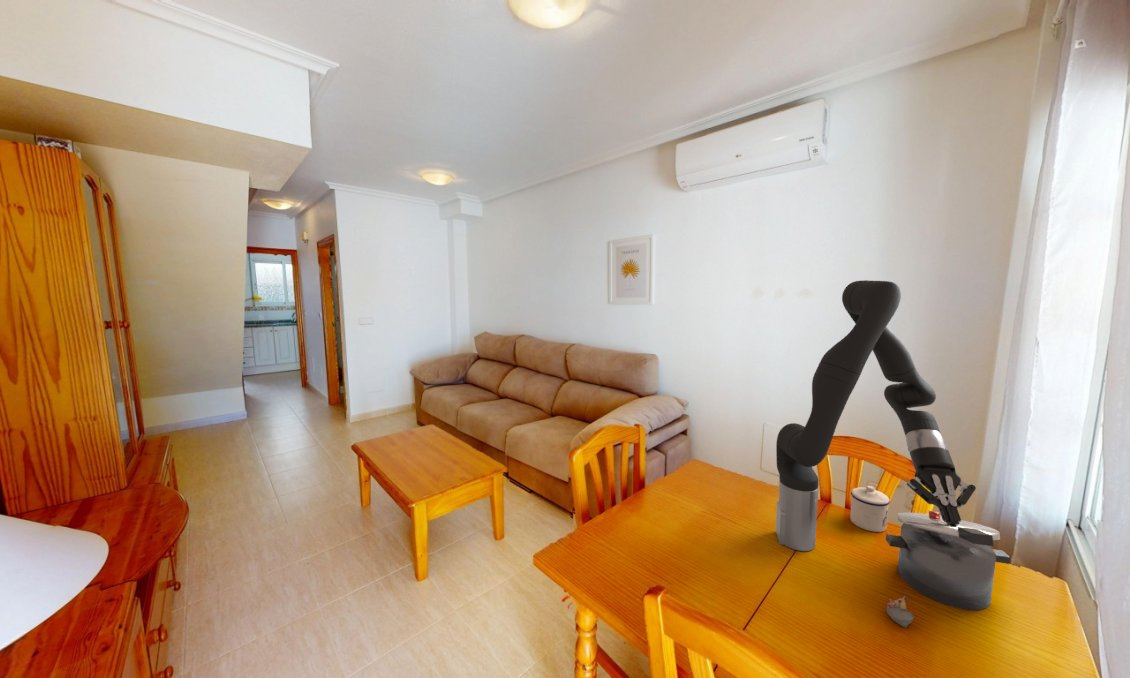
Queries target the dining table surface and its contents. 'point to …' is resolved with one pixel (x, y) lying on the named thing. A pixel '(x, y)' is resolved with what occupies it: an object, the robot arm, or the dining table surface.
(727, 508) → the dining table surface
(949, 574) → the pot
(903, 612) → the figurine
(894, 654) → the dining table surface
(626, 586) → the dining table surface
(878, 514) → the white lidded canister
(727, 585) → the dining table surface
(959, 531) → the lid
